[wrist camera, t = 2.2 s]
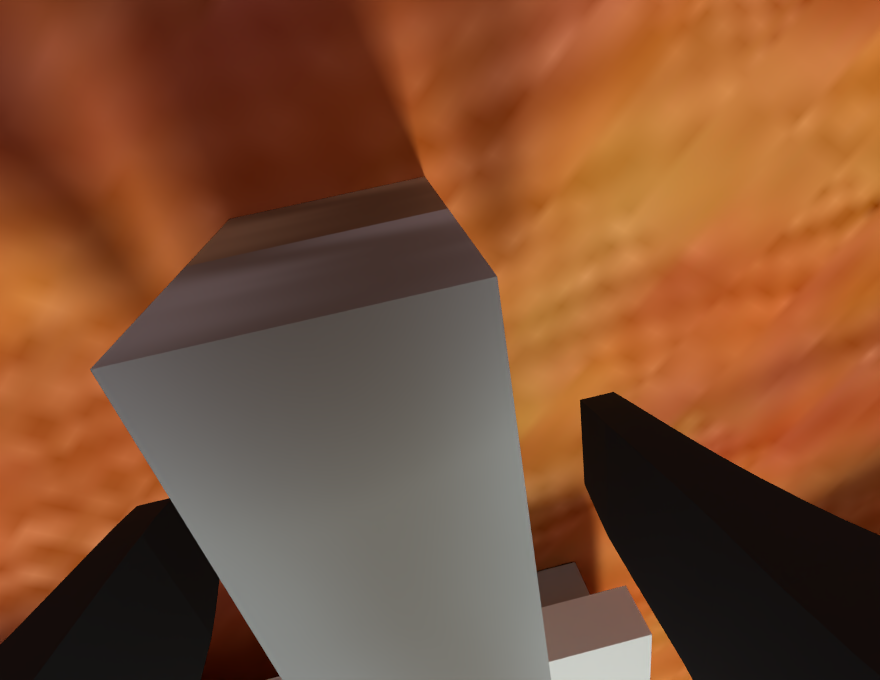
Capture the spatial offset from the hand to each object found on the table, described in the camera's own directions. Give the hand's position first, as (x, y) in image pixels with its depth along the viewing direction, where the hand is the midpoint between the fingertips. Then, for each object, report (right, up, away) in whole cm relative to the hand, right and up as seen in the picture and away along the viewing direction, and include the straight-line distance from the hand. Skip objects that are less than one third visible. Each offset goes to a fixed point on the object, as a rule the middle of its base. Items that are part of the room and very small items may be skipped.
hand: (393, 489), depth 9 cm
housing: (-1, +2, +3) cm, 4 cm away
